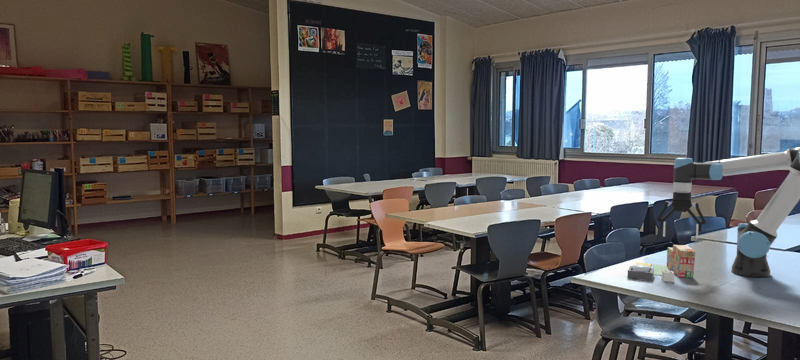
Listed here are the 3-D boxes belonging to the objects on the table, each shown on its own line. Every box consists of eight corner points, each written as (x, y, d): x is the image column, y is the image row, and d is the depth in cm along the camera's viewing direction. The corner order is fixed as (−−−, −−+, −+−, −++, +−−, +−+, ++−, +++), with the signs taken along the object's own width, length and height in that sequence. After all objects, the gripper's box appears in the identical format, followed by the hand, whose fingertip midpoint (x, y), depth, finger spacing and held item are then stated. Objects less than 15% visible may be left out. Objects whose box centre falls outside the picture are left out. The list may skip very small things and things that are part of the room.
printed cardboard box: (666, 265, 273) (667, 240, 272) (680, 266, 272) (681, 241, 271) (678, 277, 252) (680, 249, 251) (693, 278, 251) (695, 250, 250)
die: (671, 279, 248) (671, 270, 248) (673, 282, 245) (674, 272, 244) (661, 279, 249) (662, 269, 249) (663, 281, 245) (664, 272, 245)
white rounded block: (649, 274, 254) (650, 265, 254) (648, 278, 248) (649, 268, 248) (633, 272, 258) (633, 263, 257) (631, 276, 251) (631, 266, 251)
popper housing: (653, 275, 255) (653, 268, 255) (652, 280, 246) (652, 272, 246) (629, 273, 260) (630, 265, 259) (627, 278, 251) (627, 270, 251)
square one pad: (669, 266, 274) (669, 265, 274) (667, 276, 254) (667, 275, 254) (653, 264, 277) (653, 264, 277) (650, 274, 258) (650, 273, 257)
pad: (651, 264, 277) (651, 263, 277) (648, 274, 258) (648, 273, 258) (636, 263, 281) (636, 262, 281) (631, 272, 261) (631, 271, 261)
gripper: (713, 192, 256) (710, 238, 258) (653, 189, 268) (651, 233, 270) (713, 193, 250) (711, 241, 252) (651, 190, 261) (650, 236, 263)
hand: (680, 237), depth 261 cm, fingers open, 13 cm apart
